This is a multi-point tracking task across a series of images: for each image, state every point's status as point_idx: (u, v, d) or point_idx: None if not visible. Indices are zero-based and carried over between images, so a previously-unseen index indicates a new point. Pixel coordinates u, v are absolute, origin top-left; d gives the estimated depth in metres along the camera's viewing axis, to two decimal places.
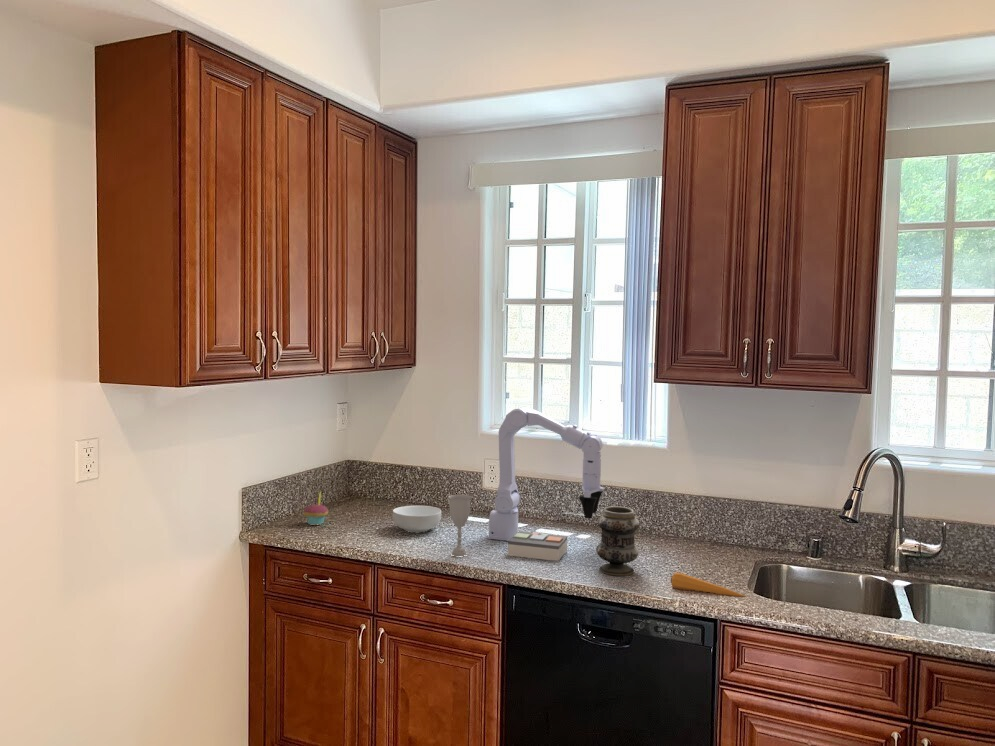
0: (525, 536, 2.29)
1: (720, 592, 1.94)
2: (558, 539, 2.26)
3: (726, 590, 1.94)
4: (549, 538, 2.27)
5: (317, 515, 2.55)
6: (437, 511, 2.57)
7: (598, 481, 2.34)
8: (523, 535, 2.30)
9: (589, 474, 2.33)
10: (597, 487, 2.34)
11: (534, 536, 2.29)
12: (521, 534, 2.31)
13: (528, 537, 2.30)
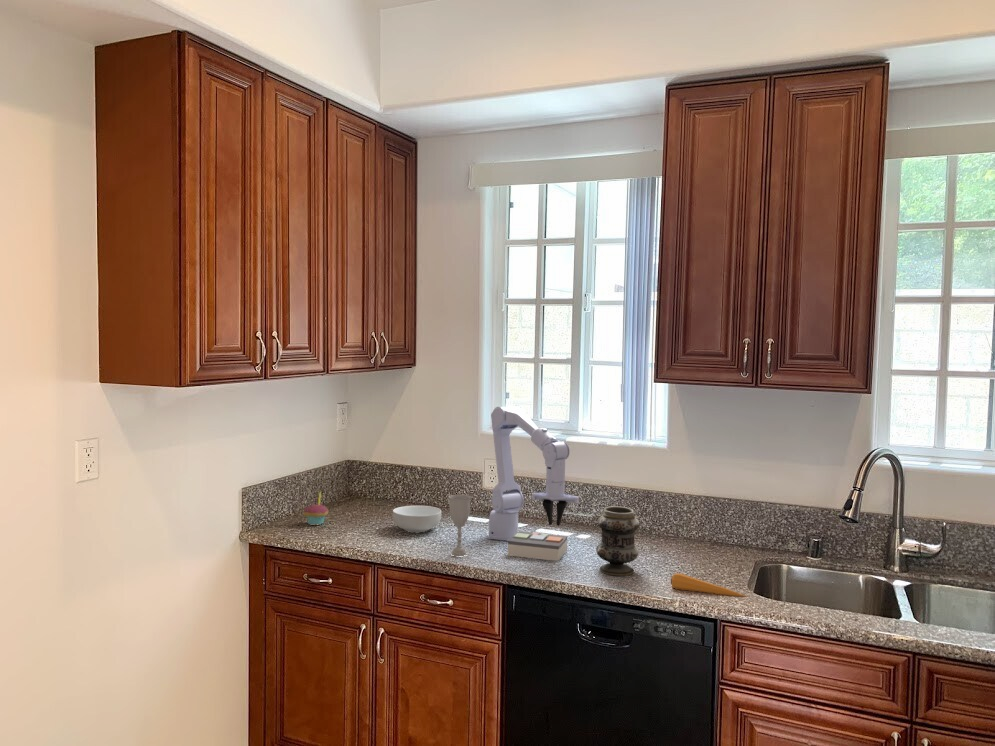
0: (525, 536, 2.29)
1: (720, 592, 1.94)
2: (558, 539, 2.26)
3: (726, 590, 1.94)
4: (549, 538, 2.27)
5: (317, 515, 2.55)
6: (437, 511, 2.57)
7: (549, 489, 2.25)
8: (523, 535, 2.30)
9: None
10: (548, 494, 2.25)
11: (534, 536, 2.29)
12: (521, 534, 2.31)
13: (528, 537, 2.30)
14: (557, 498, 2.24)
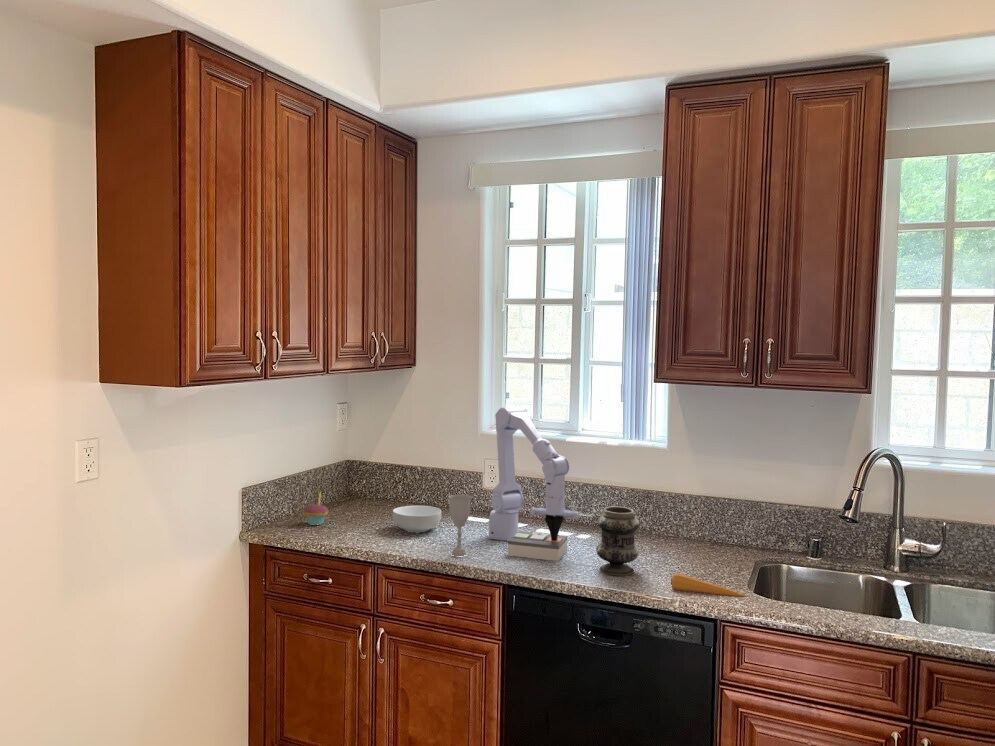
0: (525, 536, 2.29)
1: (721, 592, 1.94)
2: (558, 540, 2.26)
3: (727, 590, 1.94)
4: (549, 539, 2.27)
5: (317, 515, 2.55)
6: (437, 511, 2.57)
7: (549, 504, 2.25)
8: (523, 535, 2.30)
9: None
10: (547, 510, 2.25)
11: (534, 536, 2.29)
12: (521, 534, 2.31)
13: (528, 537, 2.30)
14: (557, 514, 2.24)
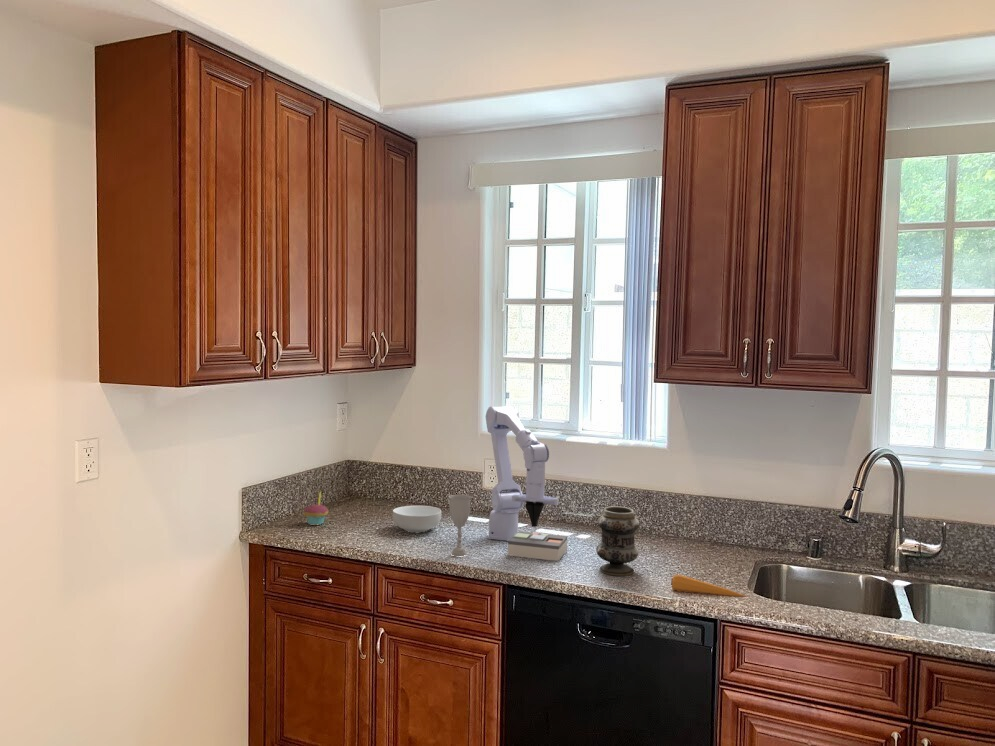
0: (525, 536, 2.29)
1: (721, 593, 1.93)
2: (558, 542, 2.26)
3: (727, 591, 1.94)
4: (549, 541, 2.27)
5: (317, 515, 2.55)
6: (437, 511, 2.57)
7: (529, 490, 2.27)
8: (523, 535, 2.30)
9: None
10: (528, 496, 2.27)
11: (534, 536, 2.29)
12: (521, 534, 2.31)
13: (528, 537, 2.30)
14: (537, 500, 2.26)
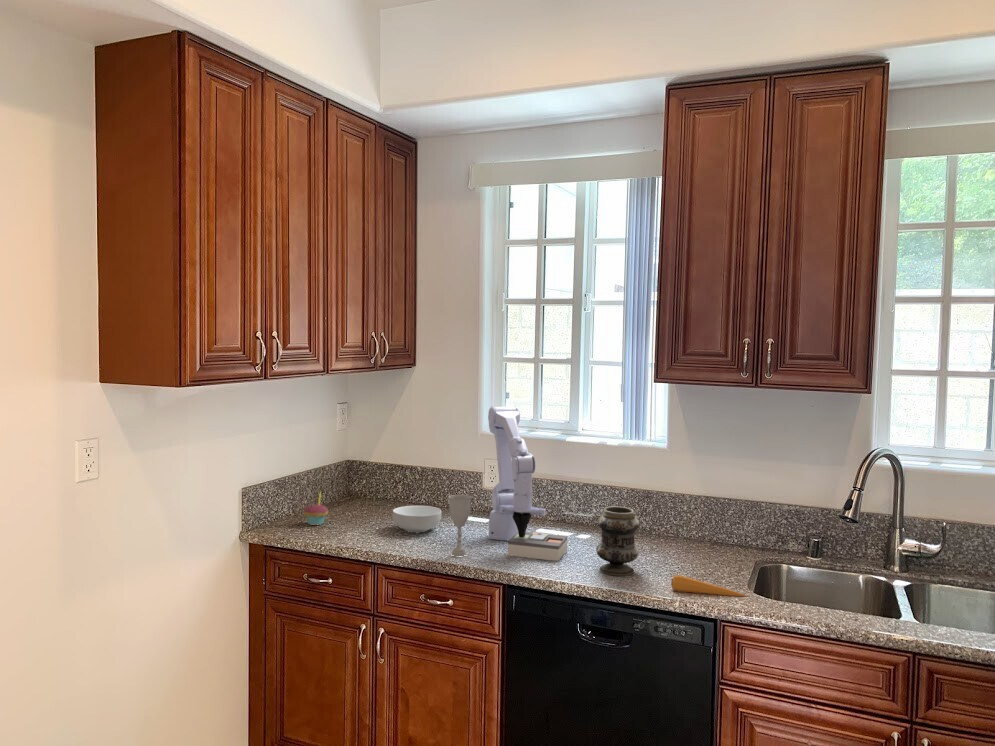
0: (525, 537, 2.29)
1: (721, 593, 1.93)
2: (558, 542, 2.26)
3: (727, 591, 1.93)
4: (549, 541, 2.27)
5: (317, 515, 2.55)
6: (437, 511, 2.57)
7: (516, 501, 2.28)
8: None
9: None
10: (515, 507, 2.28)
11: (534, 536, 2.29)
12: None
13: None
14: (524, 511, 2.27)
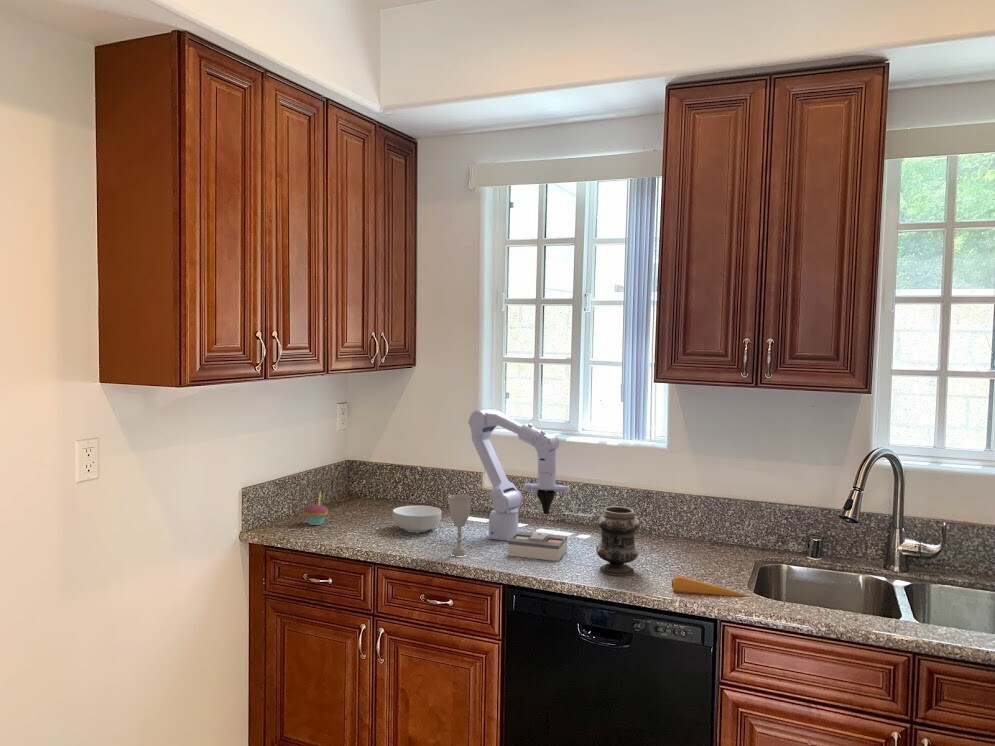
0: None
1: (722, 593, 1.93)
2: (558, 542, 2.26)
3: (728, 591, 1.93)
4: (549, 541, 2.27)
5: (317, 515, 2.55)
6: (437, 511, 2.57)
7: (540, 479, 2.35)
8: (523, 538, 2.30)
9: None
10: (539, 485, 2.35)
11: (534, 536, 2.29)
12: (521, 537, 2.32)
13: None
14: (548, 488, 2.34)
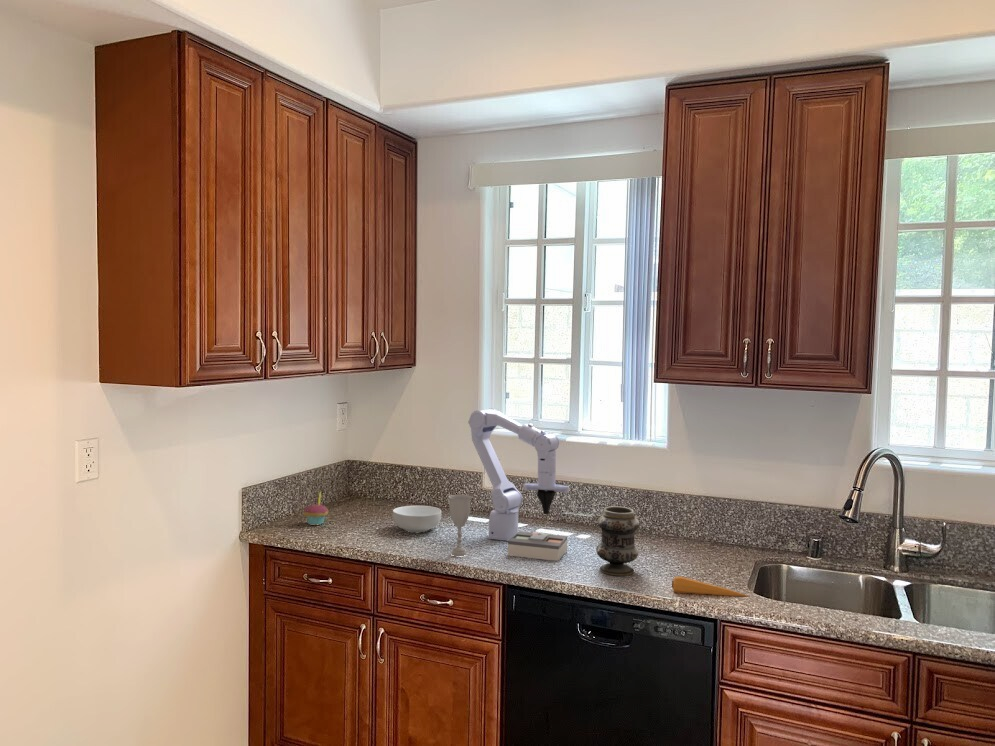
0: None
1: (722, 593, 1.93)
2: (558, 542, 2.26)
3: (728, 591, 1.93)
4: (549, 541, 2.27)
5: (317, 515, 2.55)
6: (437, 511, 2.57)
7: (540, 479, 2.35)
8: (523, 538, 2.30)
9: None
10: (539, 485, 2.35)
11: (534, 536, 2.29)
12: (521, 537, 2.32)
13: None
14: (548, 488, 2.34)
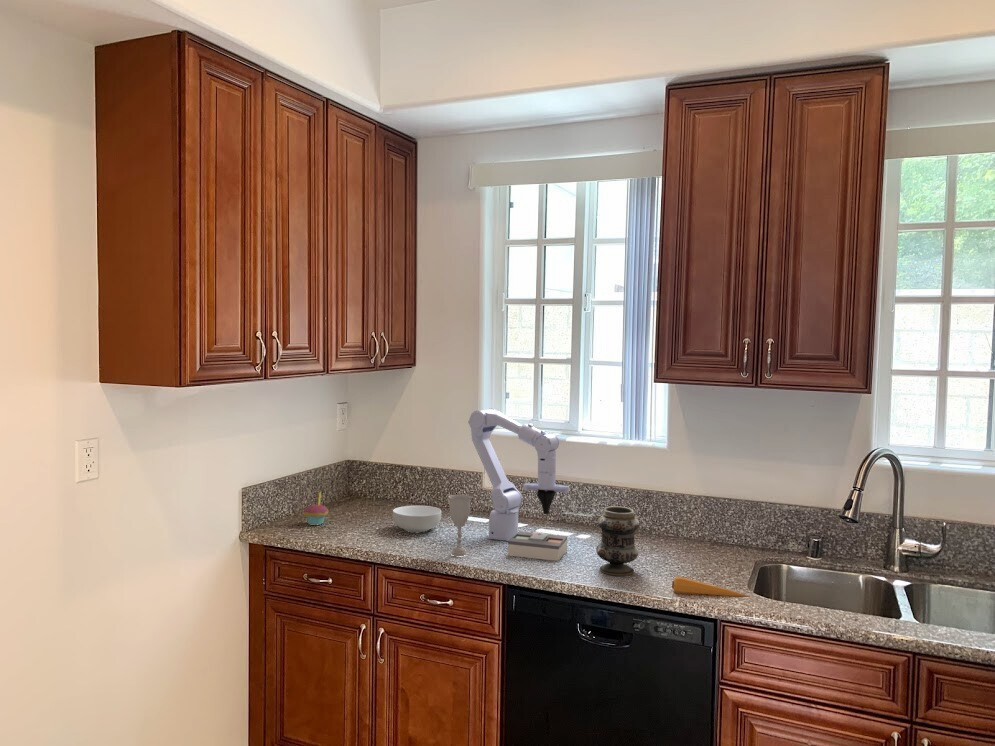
0: None
1: (723, 594, 1.93)
2: (558, 542, 2.26)
3: (728, 591, 1.93)
4: (549, 541, 2.27)
5: (317, 515, 2.55)
6: (437, 511, 2.57)
7: (540, 479, 2.35)
8: (523, 538, 2.30)
9: None
10: (539, 485, 2.35)
11: (534, 536, 2.29)
12: (521, 537, 2.32)
13: None
14: (548, 488, 2.34)
